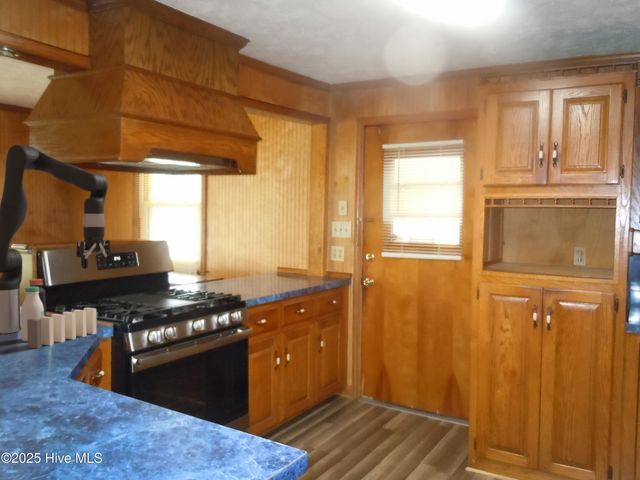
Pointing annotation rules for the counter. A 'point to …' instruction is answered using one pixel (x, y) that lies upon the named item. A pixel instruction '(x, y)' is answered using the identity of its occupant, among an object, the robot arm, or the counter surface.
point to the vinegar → (41, 291)
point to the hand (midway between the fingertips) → (93, 267)
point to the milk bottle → (30, 309)
